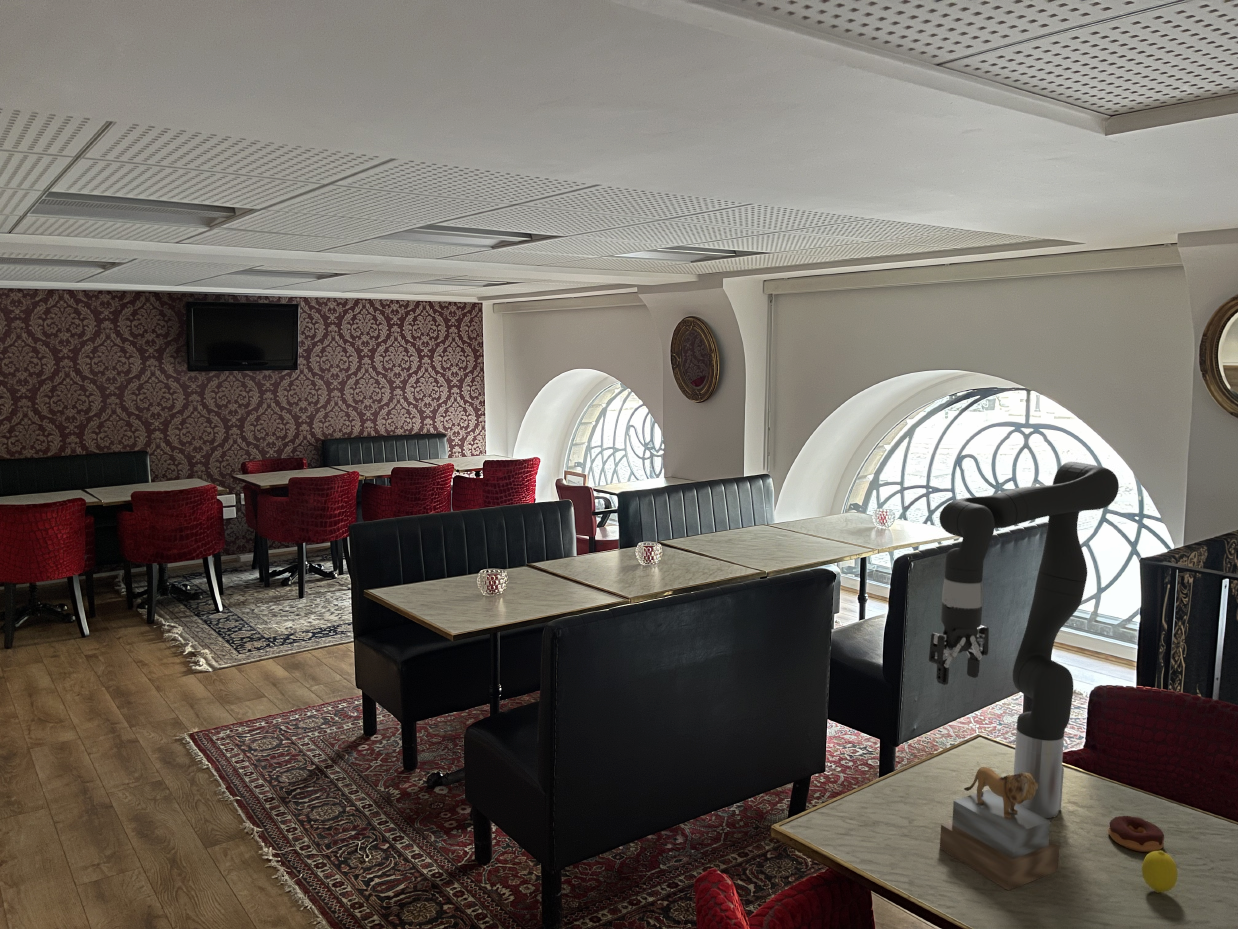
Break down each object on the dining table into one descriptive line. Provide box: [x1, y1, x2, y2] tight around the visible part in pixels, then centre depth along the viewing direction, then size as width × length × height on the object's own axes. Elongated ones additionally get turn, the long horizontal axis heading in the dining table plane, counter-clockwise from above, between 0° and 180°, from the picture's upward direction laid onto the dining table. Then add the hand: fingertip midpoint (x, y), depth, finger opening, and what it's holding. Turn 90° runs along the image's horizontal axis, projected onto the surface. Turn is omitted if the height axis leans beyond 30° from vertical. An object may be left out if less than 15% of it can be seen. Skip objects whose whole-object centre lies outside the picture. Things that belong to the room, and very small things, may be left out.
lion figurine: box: [963, 766, 1038, 818], centre depth 175 cm, size 15×5×9 cm, turn 36°
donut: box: [1107, 815, 1165, 853], centre depth 183 cm, size 10×10×4 cm
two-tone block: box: [939, 788, 1061, 891], centre depth 175 cm, size 14×16×10 cm
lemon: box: [1141, 849, 1178, 894], centre depth 165 cm, size 6×6×8 cm
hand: (957, 680), depth 182 cm, fingers open, 8 cm apart
